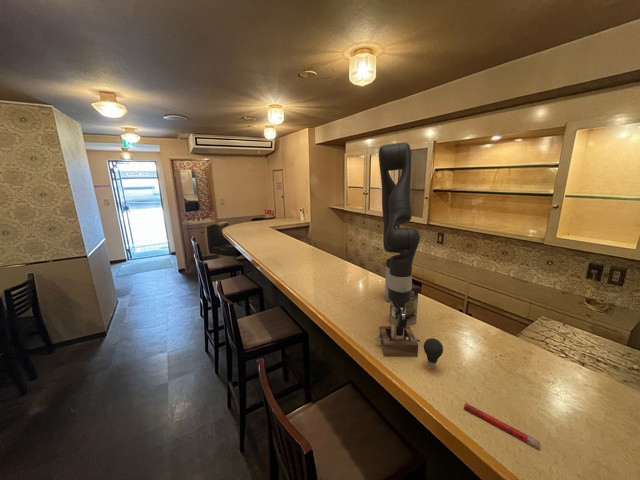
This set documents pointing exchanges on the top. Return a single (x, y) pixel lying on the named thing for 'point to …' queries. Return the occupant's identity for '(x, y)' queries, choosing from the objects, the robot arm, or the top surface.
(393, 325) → the sprinkles bottle
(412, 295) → the coffee box
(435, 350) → the light bulb
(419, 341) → the plunger
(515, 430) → the flare
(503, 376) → the top surface
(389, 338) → the plunger
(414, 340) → the brown wooden square frame
